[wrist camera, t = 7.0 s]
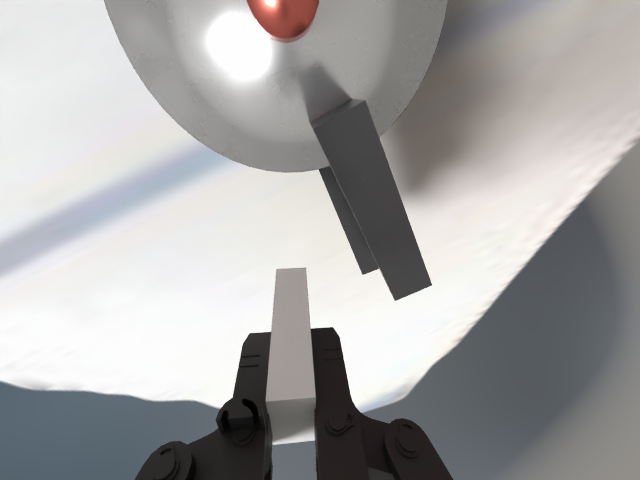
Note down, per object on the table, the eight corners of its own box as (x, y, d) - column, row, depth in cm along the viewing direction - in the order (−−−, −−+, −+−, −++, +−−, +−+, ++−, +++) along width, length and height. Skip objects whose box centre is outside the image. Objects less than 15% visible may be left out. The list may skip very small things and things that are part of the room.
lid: (11, -114, 10) (-130, -217, 7) (376, -432, 8) (439, -823, 5) (306, 298, 22) (309, 337, 19) (490, 216, 20) (532, 242, 16)
